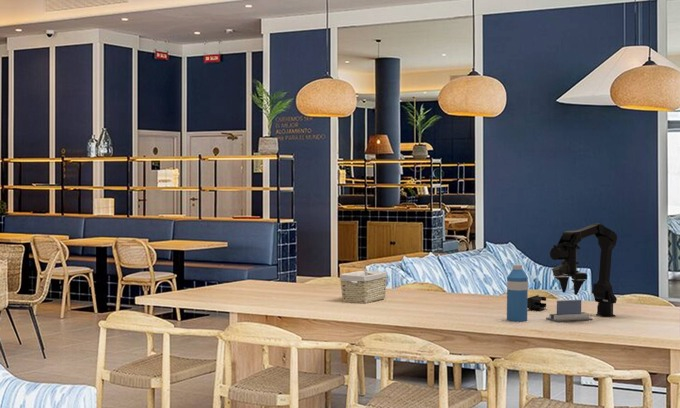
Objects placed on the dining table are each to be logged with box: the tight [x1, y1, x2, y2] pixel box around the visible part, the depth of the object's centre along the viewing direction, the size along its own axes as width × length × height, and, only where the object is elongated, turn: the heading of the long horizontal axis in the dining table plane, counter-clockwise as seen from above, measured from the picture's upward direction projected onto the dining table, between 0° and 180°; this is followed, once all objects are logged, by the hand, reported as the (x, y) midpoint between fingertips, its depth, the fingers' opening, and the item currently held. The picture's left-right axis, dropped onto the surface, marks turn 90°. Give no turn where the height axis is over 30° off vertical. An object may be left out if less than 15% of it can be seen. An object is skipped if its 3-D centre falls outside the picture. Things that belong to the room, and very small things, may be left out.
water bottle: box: [506, 264, 529, 323], centre depth 424 cm, size 9×9×25 cm
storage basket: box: [339, 270, 388, 304], centre depth 492 cm, size 24×16×15 cm
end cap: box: [527, 295, 547, 312], centre depth 459 cm, size 10×7×7 cm
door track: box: [545, 311, 593, 323], centre depth 426 cm, size 18×10×3 cm, turn 111°
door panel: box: [556, 299, 582, 315], centre depth 426 cm, size 12×2×8 cm, turn 111°
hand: (569, 293), depth 426 cm, fingers open, 9 cm apart
